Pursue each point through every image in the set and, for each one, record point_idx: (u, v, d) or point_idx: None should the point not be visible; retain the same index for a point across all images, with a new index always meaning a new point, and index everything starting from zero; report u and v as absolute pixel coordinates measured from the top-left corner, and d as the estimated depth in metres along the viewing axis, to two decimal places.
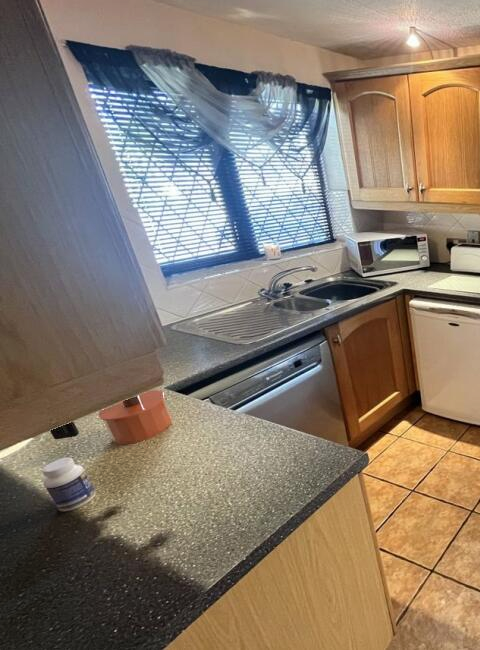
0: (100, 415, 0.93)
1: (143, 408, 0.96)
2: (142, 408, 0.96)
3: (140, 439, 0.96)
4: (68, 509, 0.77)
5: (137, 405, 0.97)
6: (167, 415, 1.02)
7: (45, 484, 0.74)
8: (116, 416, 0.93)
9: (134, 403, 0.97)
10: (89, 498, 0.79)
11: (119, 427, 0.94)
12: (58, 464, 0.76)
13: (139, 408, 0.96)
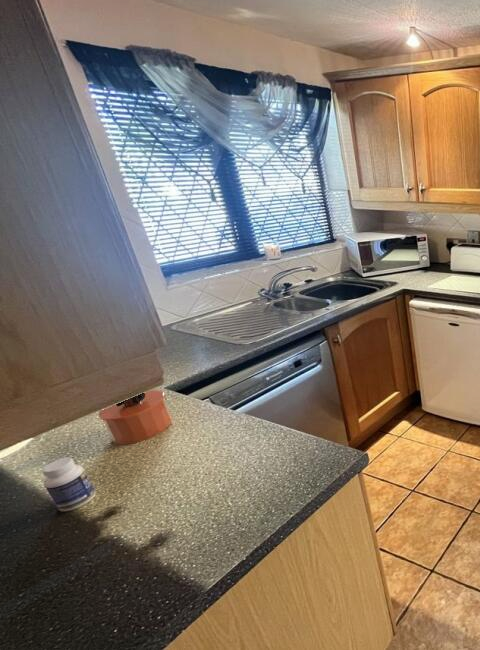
0: (100, 415, 0.93)
1: (143, 408, 0.96)
2: (142, 408, 0.96)
3: (140, 439, 0.96)
4: (68, 509, 0.77)
5: (137, 405, 0.97)
6: (167, 415, 1.02)
7: (45, 484, 0.74)
8: (116, 416, 0.93)
9: (134, 403, 0.97)
10: (89, 498, 0.79)
11: (119, 427, 0.94)
12: (58, 464, 0.76)
13: (139, 408, 0.96)
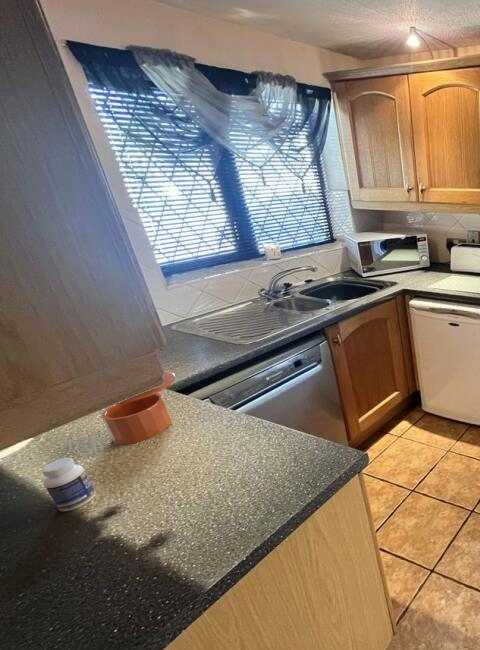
0: None
1: (151, 390, 0.82)
2: (150, 390, 0.82)
3: (140, 439, 0.96)
4: (68, 509, 0.77)
5: None
6: (167, 415, 1.02)
7: (45, 484, 0.74)
8: None
9: None
10: (89, 498, 0.79)
11: (119, 427, 0.94)
12: (58, 464, 0.76)
13: None
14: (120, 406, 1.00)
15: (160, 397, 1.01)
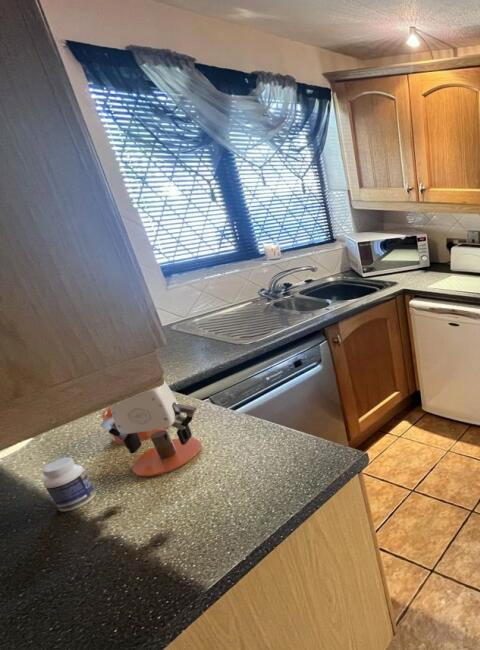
0: (134, 469, 0.86)
1: (180, 460, 0.88)
2: (179, 460, 0.88)
3: (140, 439, 0.96)
4: (68, 509, 0.77)
5: (173, 456, 0.89)
6: None
7: (45, 484, 0.74)
8: (152, 471, 0.85)
9: (170, 454, 0.89)
10: (89, 498, 0.79)
11: None
12: (58, 464, 0.76)
13: (176, 460, 0.88)
14: None
15: None
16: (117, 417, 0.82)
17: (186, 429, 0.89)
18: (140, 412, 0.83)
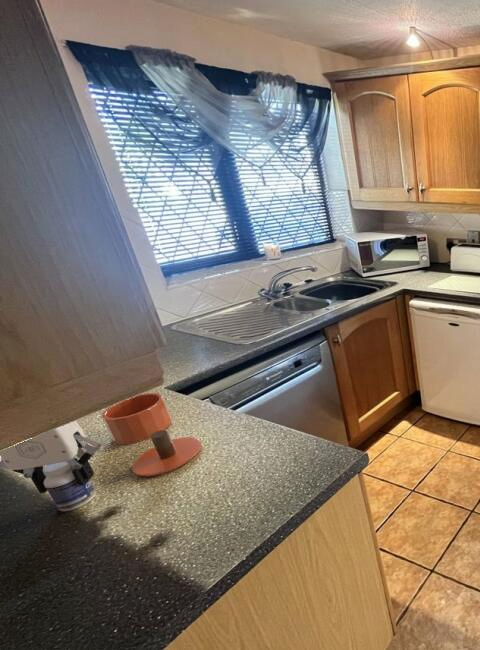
0: (134, 469, 0.86)
1: (180, 460, 0.88)
2: (179, 460, 0.88)
3: (140, 439, 0.96)
4: (68, 509, 0.77)
5: (173, 456, 0.89)
6: (167, 415, 1.02)
7: (45, 484, 0.74)
8: (152, 471, 0.85)
9: (170, 454, 0.89)
10: (89, 498, 0.79)
11: (119, 427, 0.94)
12: (58, 464, 0.76)
13: (176, 460, 0.88)
14: (120, 406, 1.00)
15: (160, 397, 1.01)
16: (3, 451, 0.70)
17: (85, 467, 0.77)
18: (31, 445, 0.71)
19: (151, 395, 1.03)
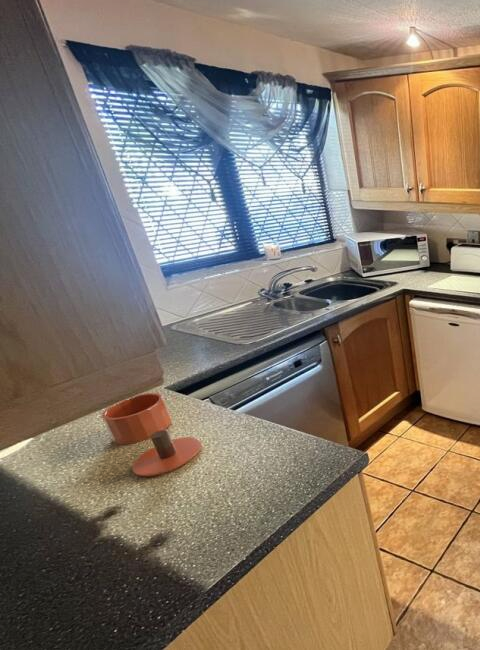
0: (134, 469, 0.86)
1: (180, 460, 0.88)
2: (179, 460, 0.88)
3: (140, 439, 0.96)
4: None
5: (173, 456, 0.89)
6: (167, 415, 1.02)
7: None
8: (152, 471, 0.85)
9: (170, 454, 0.89)
10: None
11: (119, 427, 0.94)
12: None
13: (176, 460, 0.88)
14: (120, 406, 1.00)
15: (160, 397, 1.01)
16: None
17: None
18: None
19: (151, 395, 1.03)
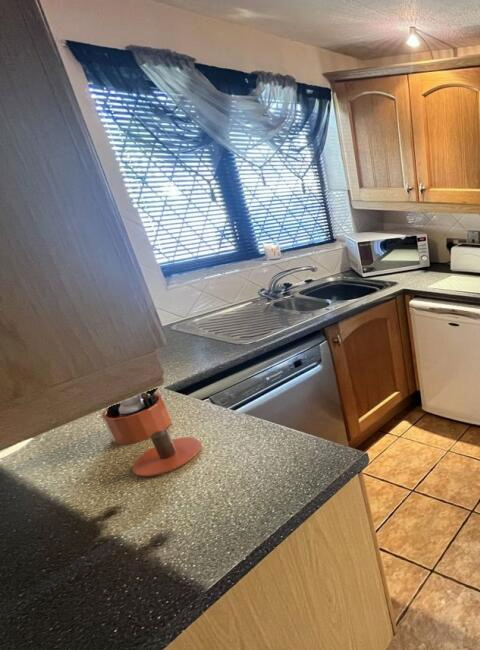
0: (134, 469, 0.86)
1: (180, 460, 0.88)
2: (179, 460, 0.88)
3: (140, 439, 0.96)
4: None
5: (173, 456, 0.89)
6: (167, 415, 1.02)
7: (120, 411, 0.96)
8: (152, 471, 0.85)
9: (170, 454, 0.89)
10: None
11: (119, 427, 0.94)
12: None
13: (176, 460, 0.88)
14: None
15: (160, 397, 1.01)
16: None
17: (152, 398, 0.98)
18: None
19: None
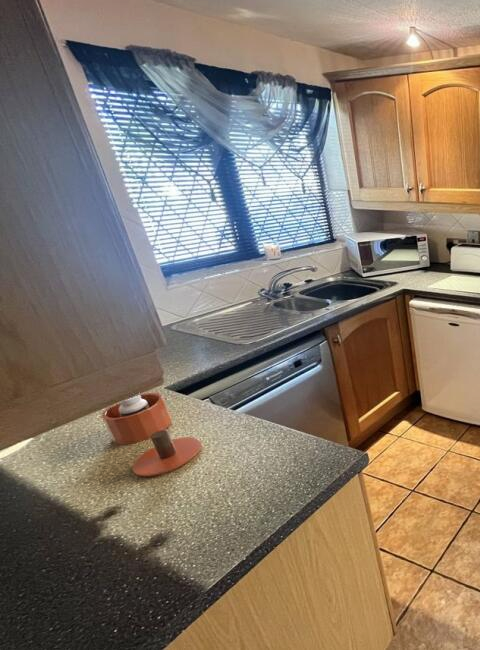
0: (134, 469, 0.86)
1: (180, 460, 0.88)
2: (179, 460, 0.88)
3: (140, 439, 0.96)
4: None
5: (173, 456, 0.89)
6: (167, 415, 1.02)
7: (120, 411, 0.96)
8: (152, 471, 0.85)
9: (170, 454, 0.89)
10: None
11: (119, 427, 0.94)
12: None
13: (176, 460, 0.88)
14: None
15: (160, 397, 1.01)
16: None
17: None
18: None
19: (151, 395, 1.03)
